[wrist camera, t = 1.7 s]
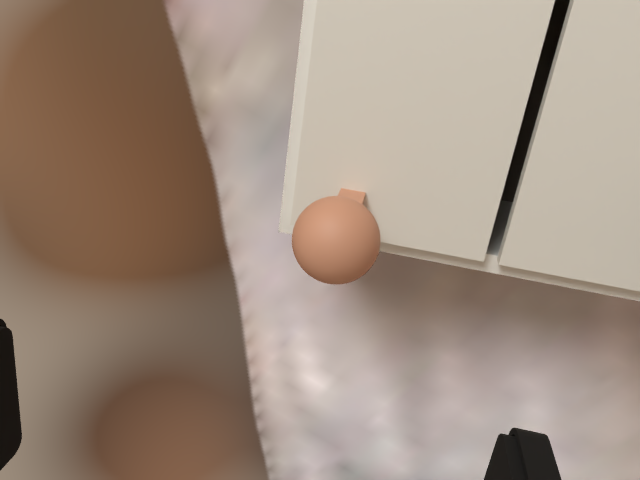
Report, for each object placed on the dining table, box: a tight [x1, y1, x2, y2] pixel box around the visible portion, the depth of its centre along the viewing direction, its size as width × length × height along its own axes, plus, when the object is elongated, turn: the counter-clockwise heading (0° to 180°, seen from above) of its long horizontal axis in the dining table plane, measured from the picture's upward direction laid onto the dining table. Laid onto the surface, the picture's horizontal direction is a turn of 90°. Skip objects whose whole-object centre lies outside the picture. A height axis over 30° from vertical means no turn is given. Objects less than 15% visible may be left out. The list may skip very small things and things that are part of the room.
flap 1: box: [290, 0, 555, 284], centre depth 19 cm, size 8×13×6 cm, turn 172°
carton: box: [279, 0, 640, 301], centre depth 25 cm, size 18×15×9 cm
